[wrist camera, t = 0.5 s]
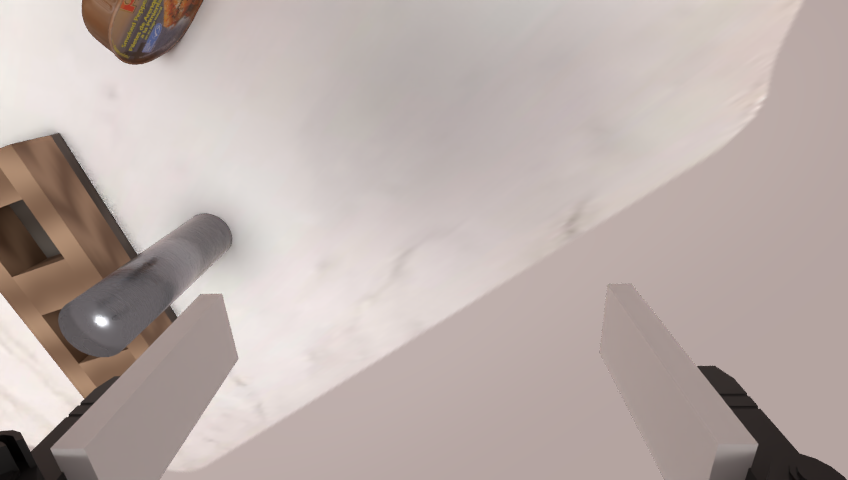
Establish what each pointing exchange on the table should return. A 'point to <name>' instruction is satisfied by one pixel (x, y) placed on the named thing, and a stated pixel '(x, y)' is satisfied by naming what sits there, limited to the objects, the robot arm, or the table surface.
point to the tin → (138, 25)
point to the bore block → (60, 253)
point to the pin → (143, 287)
